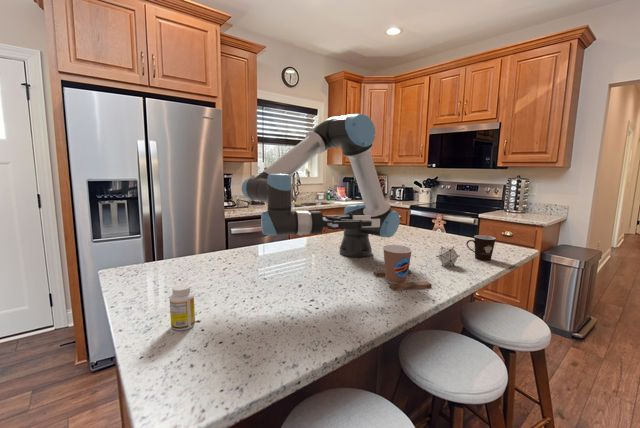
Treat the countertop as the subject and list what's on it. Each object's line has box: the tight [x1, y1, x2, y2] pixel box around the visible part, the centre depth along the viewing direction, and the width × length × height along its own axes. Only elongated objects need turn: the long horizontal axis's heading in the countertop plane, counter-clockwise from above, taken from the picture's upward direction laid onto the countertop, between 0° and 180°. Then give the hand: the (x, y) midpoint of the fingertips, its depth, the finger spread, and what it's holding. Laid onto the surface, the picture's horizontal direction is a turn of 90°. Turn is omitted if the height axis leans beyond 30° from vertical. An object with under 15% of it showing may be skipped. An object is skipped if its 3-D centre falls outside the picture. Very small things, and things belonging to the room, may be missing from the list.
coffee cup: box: [382, 244, 413, 284], centre depth 115 cm, size 10×10×12 cm
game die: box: [435, 245, 461, 267], centre depth 134 cm, size 9×8×10 cm
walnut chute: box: [372, 269, 432, 291], centre depth 116 cm, size 14×17×1 cm
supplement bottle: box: [169, 284, 196, 332], centre depth 80 cm, size 6×6×10 cm
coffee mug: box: [465, 234, 497, 262], centre depth 145 cm, size 12×9×10 cm
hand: (374, 220), depth 110 cm, fingers open, 7 cm apart
